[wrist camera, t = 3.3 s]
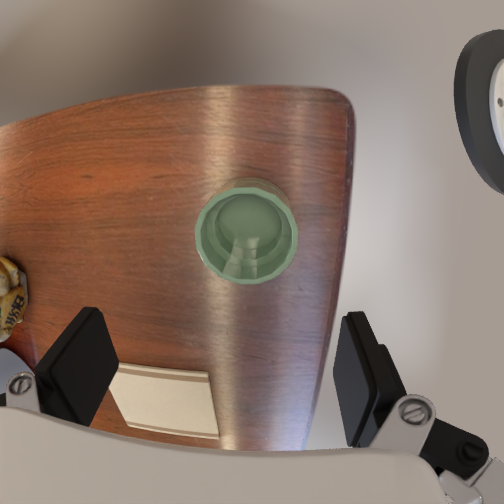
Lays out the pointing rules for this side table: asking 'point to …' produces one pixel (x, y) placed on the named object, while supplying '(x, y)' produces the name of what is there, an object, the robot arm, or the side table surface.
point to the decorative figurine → (11, 297)
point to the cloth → (165, 400)
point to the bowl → (247, 231)
